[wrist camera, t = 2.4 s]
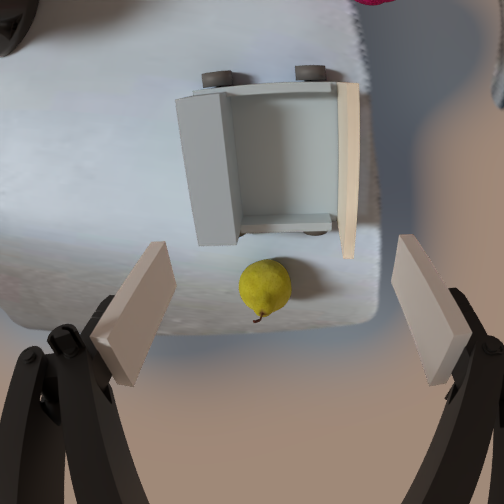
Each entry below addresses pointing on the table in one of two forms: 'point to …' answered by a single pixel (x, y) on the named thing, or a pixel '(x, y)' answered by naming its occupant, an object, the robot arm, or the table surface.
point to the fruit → (265, 287)
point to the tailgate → (348, 164)
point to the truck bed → (261, 156)
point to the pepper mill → (373, 2)
